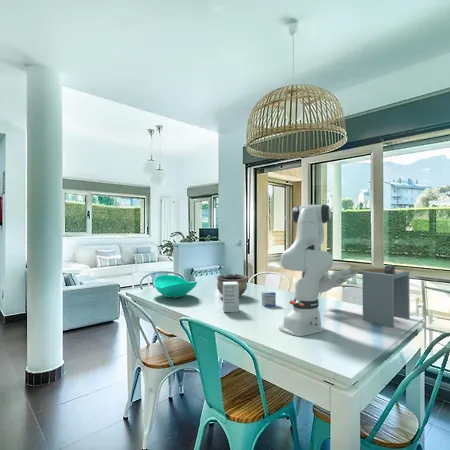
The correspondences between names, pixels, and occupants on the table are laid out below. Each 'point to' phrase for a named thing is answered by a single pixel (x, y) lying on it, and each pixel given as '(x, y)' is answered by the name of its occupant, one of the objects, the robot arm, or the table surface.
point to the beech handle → (374, 268)
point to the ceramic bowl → (231, 278)
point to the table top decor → (173, 285)
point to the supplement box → (230, 297)
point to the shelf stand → (385, 297)
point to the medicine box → (268, 299)
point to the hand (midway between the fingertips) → (355, 268)
